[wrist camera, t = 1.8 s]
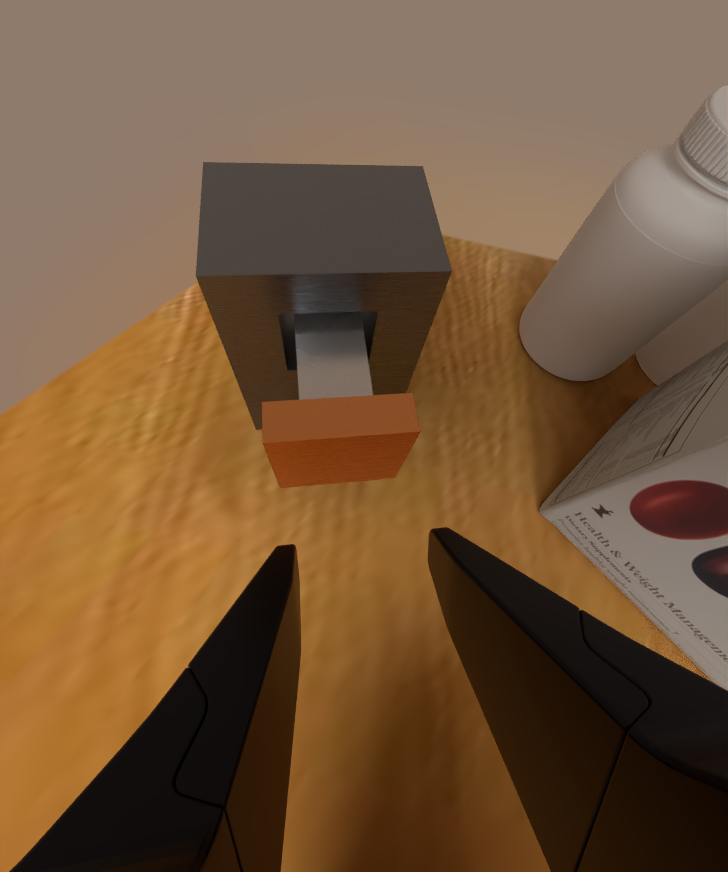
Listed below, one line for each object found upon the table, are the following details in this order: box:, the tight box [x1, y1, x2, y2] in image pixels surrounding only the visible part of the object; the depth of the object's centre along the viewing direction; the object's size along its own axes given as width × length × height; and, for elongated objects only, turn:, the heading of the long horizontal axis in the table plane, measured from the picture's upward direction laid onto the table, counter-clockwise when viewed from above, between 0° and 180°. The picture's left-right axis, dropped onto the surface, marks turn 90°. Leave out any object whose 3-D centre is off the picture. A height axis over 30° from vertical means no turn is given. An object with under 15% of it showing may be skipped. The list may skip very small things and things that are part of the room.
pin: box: [262, 312, 420, 488], centre depth 17 cm, size 8×5×5 cm, turn 7°
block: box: [196, 162, 452, 430], centre depth 20 cm, size 6×9×12 cm, turn 97°
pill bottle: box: [519, 85, 728, 381], centre depth 23 cm, size 8×8×15 cm
